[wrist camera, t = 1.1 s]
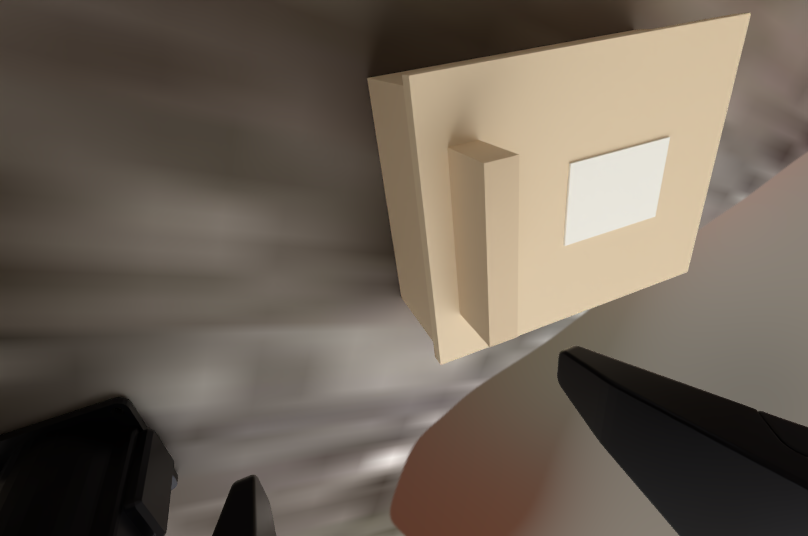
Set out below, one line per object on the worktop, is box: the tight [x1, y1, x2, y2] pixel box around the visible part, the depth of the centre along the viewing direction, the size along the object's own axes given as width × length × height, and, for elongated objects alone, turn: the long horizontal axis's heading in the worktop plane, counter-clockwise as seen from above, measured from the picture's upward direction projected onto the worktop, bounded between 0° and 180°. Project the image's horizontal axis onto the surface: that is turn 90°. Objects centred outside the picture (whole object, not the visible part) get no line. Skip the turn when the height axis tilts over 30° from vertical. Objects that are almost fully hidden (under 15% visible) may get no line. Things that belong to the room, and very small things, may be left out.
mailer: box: [367, 29, 650, 341], centre depth 20 cm, size 14×11×4 cm
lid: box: [402, 13, 751, 365], centre depth 17 cm, size 14×12×3 cm
